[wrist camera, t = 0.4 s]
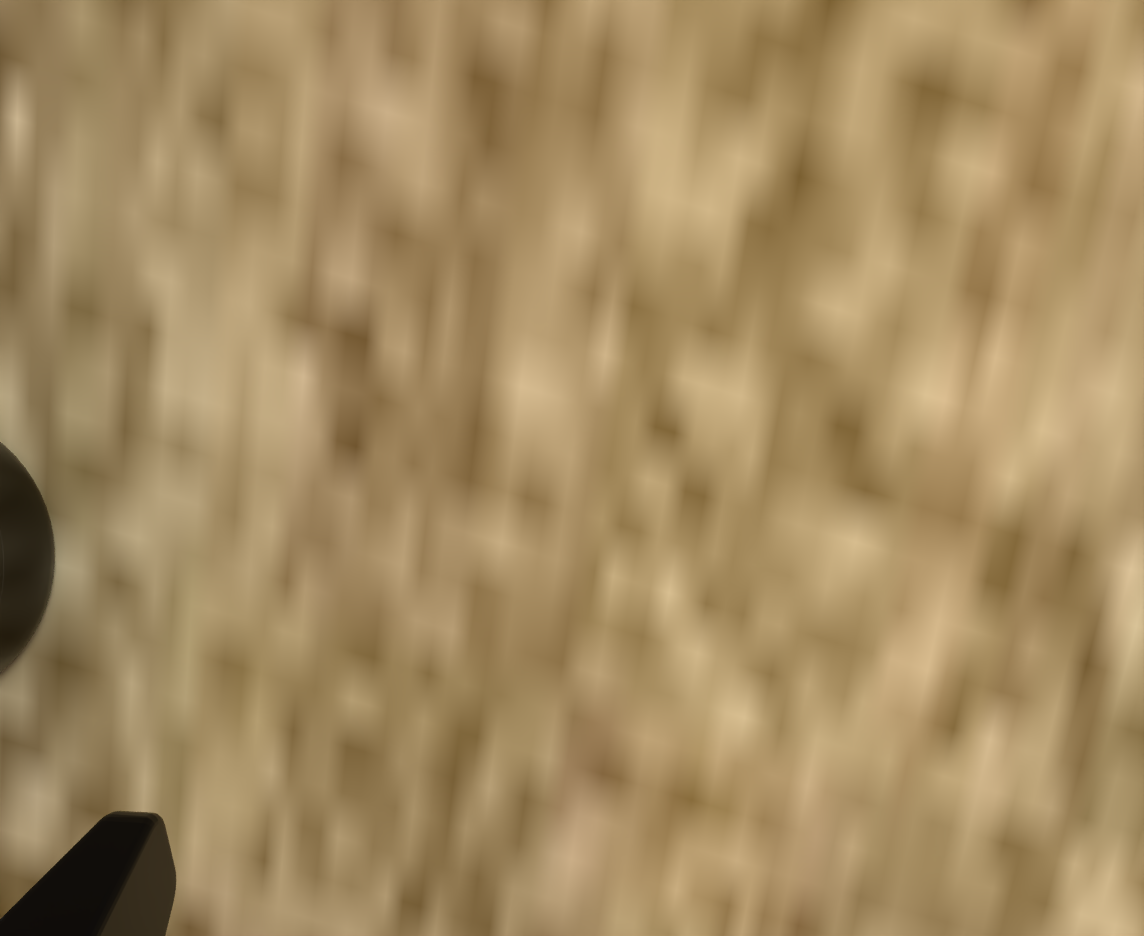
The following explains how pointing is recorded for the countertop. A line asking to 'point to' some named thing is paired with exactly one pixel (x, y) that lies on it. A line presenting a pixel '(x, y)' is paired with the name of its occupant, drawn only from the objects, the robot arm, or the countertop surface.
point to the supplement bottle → (22, 557)
